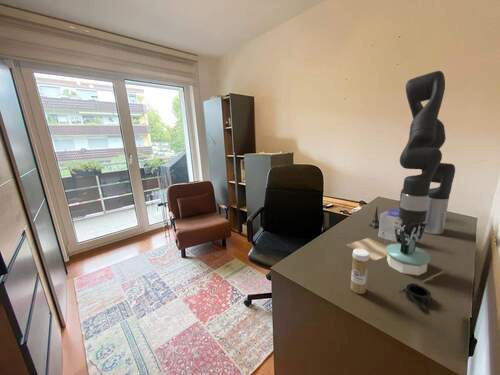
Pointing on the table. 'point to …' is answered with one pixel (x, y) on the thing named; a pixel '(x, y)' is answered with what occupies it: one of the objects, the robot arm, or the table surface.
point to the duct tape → (418, 295)
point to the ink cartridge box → (389, 224)
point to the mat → (370, 248)
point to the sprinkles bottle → (359, 270)
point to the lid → (412, 257)
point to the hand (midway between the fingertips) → (407, 251)
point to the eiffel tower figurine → (375, 219)
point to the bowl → (406, 266)
